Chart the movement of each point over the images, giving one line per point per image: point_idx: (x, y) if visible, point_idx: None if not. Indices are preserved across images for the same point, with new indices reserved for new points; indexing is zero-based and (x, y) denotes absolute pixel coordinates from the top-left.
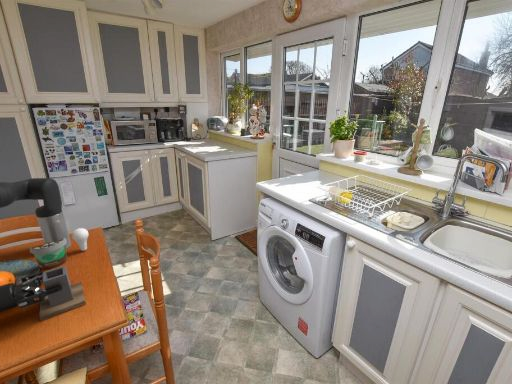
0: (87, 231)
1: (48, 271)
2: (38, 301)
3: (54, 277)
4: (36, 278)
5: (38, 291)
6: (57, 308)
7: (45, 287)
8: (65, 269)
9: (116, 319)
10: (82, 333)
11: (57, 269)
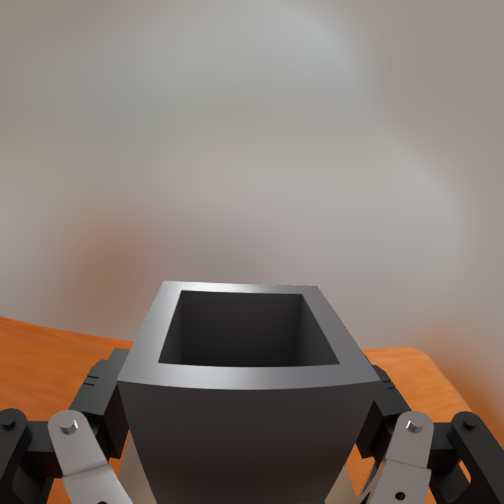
0: None
1: (151, 348)
2: (462, 474)
3: (327, 323)
4: (121, 486)
5: (427, 455)
6: (334, 501)
7: (355, 434)
8: (231, 284)
9: (422, 353)
10: (468, 409)
11: (175, 310)
